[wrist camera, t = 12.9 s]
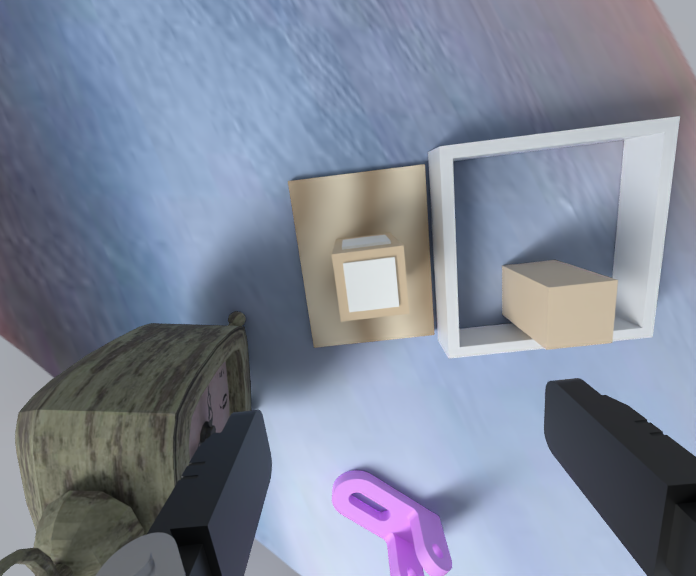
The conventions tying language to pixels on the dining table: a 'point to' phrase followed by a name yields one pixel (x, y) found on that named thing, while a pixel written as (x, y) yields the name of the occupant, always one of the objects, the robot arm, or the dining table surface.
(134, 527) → the tabletop clock
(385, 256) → the labelled box
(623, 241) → the bin
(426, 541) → the bracket
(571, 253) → the dining table surface
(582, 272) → the plain box
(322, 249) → the board
